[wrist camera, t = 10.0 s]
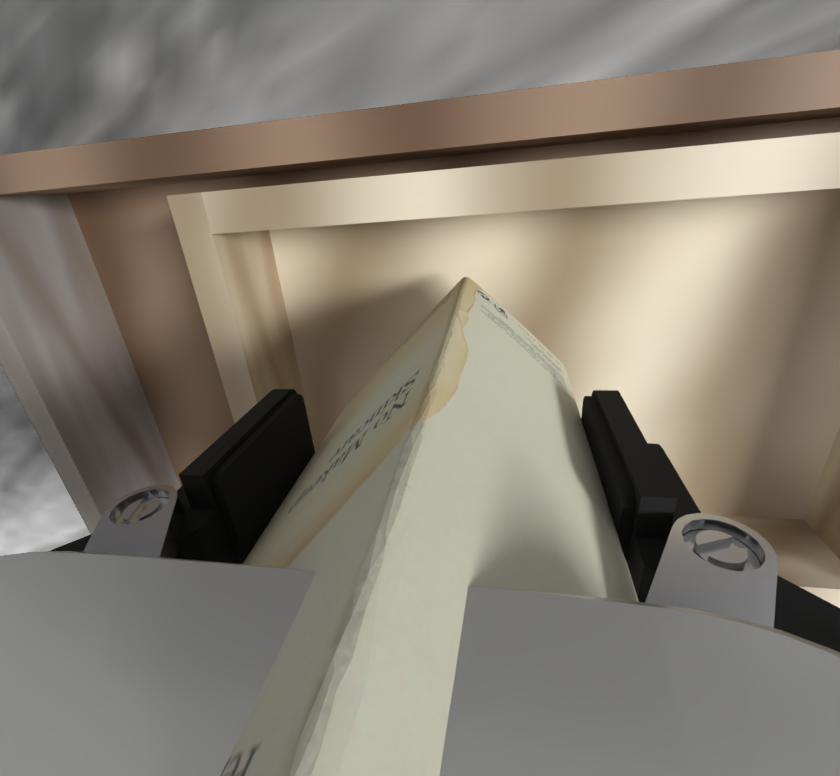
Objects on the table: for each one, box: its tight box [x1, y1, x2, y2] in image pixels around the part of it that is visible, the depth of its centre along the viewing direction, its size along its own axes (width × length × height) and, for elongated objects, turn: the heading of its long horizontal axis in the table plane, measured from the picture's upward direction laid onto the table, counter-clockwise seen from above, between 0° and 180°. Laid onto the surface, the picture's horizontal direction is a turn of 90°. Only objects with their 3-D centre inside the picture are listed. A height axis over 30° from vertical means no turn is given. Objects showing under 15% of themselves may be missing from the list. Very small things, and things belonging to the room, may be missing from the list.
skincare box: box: [220, 277, 639, 776], centre depth 9 cm, size 6×4×12 cm
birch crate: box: [167, 132, 840, 608], centre depth 14 cm, size 20×13×4 cm, turn 95°
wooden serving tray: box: [0, 50, 840, 534], centre depth 15 cm, size 29×16×5 cm, turn 95°
